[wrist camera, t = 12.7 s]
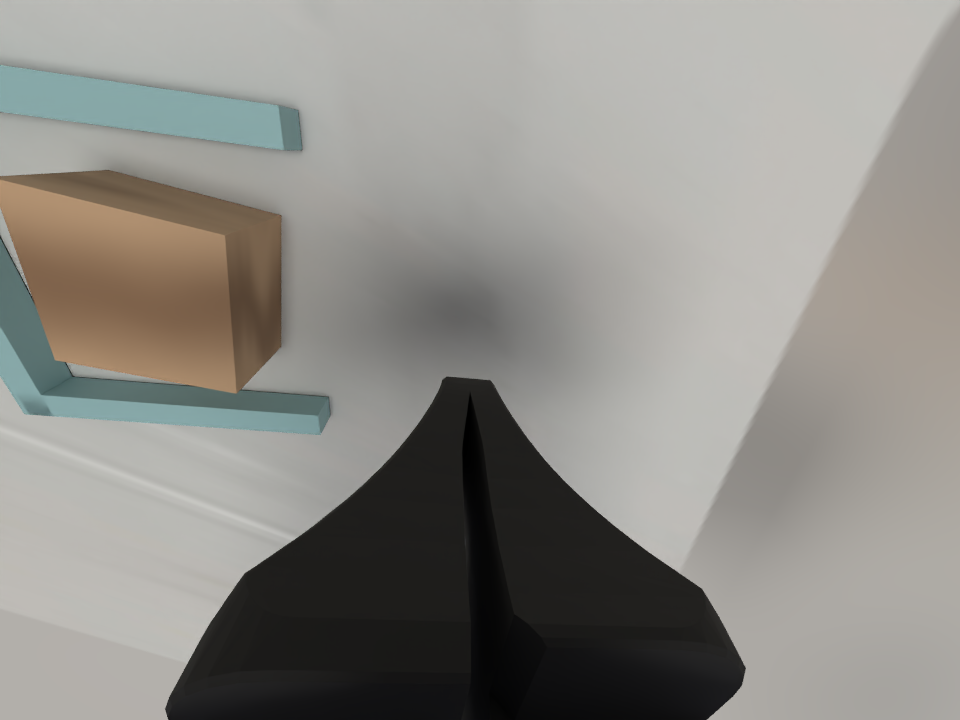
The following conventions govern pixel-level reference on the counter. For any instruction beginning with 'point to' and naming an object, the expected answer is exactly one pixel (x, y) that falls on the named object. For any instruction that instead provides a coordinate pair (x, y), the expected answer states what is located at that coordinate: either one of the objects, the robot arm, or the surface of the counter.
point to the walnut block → (148, 276)
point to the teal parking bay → (14, 317)
